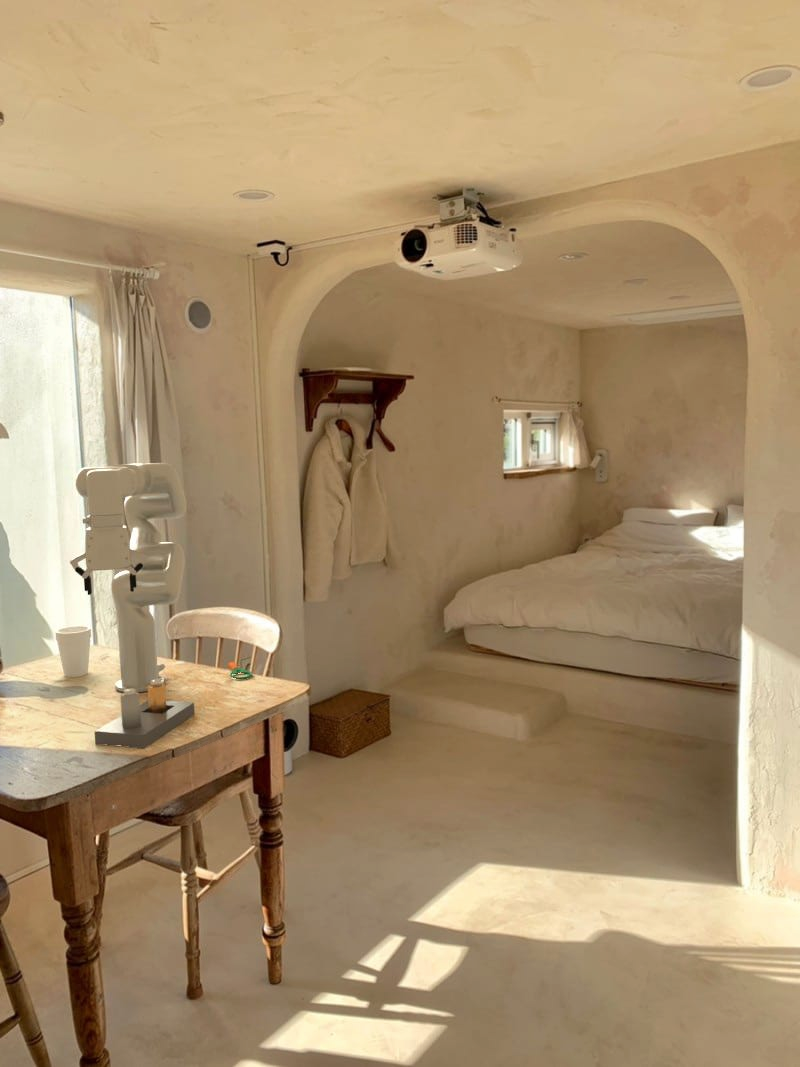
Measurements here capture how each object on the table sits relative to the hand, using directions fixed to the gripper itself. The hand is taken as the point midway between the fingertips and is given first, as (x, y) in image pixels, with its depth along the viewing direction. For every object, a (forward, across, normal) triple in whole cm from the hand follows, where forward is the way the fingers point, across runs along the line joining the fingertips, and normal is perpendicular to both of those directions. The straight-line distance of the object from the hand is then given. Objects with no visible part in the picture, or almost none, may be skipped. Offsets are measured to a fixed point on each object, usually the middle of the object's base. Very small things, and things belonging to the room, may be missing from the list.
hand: (111, 592), depth 196 cm
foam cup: (+31, -13, +39) cm, 51 cm away
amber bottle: (+30, +9, -11) cm, 33 cm away
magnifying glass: (+31, +31, +23) cm, 50 cm away
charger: (+30, +7, -15) cm, 34 cm away
